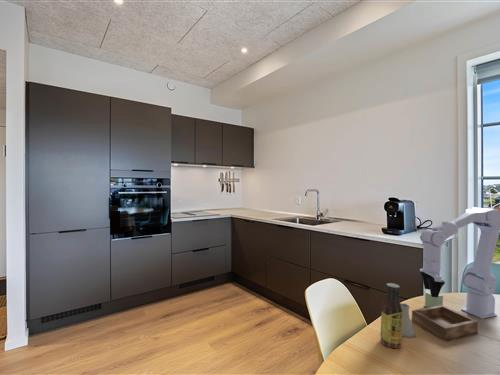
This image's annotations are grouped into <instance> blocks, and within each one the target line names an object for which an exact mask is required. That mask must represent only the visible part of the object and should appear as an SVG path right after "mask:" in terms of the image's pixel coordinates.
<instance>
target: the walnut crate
mask: <svg viewBox="0 0 500 375" xmlns="http://www.w3.org/2000/svg"><path fill="white" fill-rule="evenodd" d="M411 323H413V324H415V325H417V326H418V327H420V328H421V329H423V330H425V331H427V332H429V333H430V334H432V335H434V336H435V337H437V338H439V339H440V340H442V341H444V342H449V341H453V340H458V339H463V338H465V337H471V336H474V335H477V334H479V333H478V332H479V330H478V329H479V321H478V320H476V319H474V318H472V317H470V316H467V315H466V314H463V313H460V312H459V311H456V310H454V309H452V308H449V307H447V306H446V305H444V304H443V305H440V306H434V307H425V308H418V309H414V310H413V309H412V310H411Z"/></svg>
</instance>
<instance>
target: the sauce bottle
mask: <svg viewBox="0 0 500 375" xmlns="http://www.w3.org/2000/svg"><path fill="white" fill-rule="evenodd" d="M385 286H386V294H385V296H386V297H385V299H384V300H383V301H382V303H381V315H380V316H381V318H380V341H381V343H382V345H384V346H386V347H388V348H391V349H399V348H400V347H401V344H402V338H403V336H402V316H403V311H402V308H401V304H400V303H401V301H400V290H401V287H400V285H399V284H396V283H393V282H388V283H386V284H385Z"/></svg>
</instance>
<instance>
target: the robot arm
mask: <svg viewBox="0 0 500 375" xmlns="http://www.w3.org/2000/svg"><path fill="white" fill-rule="evenodd" d="M470 224H473V225H475V226H476V227H477V228H479V230H480V236H479V240H478V244H477V248H476V252H475V255H474V260H473V265H472V266H470V267H468V268H466V270H465V273H463V276H462V279H461V282H462V285H463V286H464V287H465V289H466V306H465V307H461V308H460V310H461V311H464V312H465V313H468V314H471V315H473V316H475V317H477V318H479V319H486V318H491V317H495V316H498V313H496V312H495V311H496V309H495V308H496V299H495V296H494V295H493V294H494V293H495V292H496V290H497V285H496V283H497V282H496V280H497V278H496V276H495V275H494V274H493V273H492V272H491V267H492V264H493V263H492V262H493V259H494V255H495V252H496V246H497V242H498V239H499V235H500V210H498V209H496V208H483V207H476V206H472V207H469V208H467V209H465V211H464V213H462V214H461V215H460V216H458V217H456V218H455V219H453V220H452V221H450V220H443V221H441V223H440V224H438V225H436V226H433V227H432V228H431V229H429V228H428V229H427V228H426V229H424V230H423V231H422V232H421V233H420V236H419V239H420V241H421V243H422V244H421V245H422V246H423V248H422V249H423V255H422V257H423V260H422V261H423V262H422V268H420V269H419V273H420V275H421V277H422V278H421V279H422V281H423V283H422V284H423V286H424V289H425V290H429V292H430V293H431V296H432V297H437V298H438V296H439V294H440V293H441V290H442V287H443V286H444V285H445V283H446V282H445V280H442V275H441V274H442V272H441V258H442V257H441V252H442V250H441V249H442V246H443V245H444V243H445V242H446V240H448V239H449V238H450V237H452V236H454V235H456V234H457V233H458V230H459V229H462V228H463V227H465V226H468V225H470Z"/></svg>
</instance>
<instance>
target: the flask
mask: <svg viewBox="0 0 500 375" xmlns="http://www.w3.org/2000/svg"><path fill="white" fill-rule="evenodd" d="M400 304H401V308H402V311H403V316H402V337H404V338H405V337H406V338H413V337H414V338H415V337H416V333H415V330H414V327H413V325H412V320H411V318H410V314H409V311H410V310H409V309H410V308H411V307H410V305H409V304H407V303H403V302H400Z"/></svg>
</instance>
